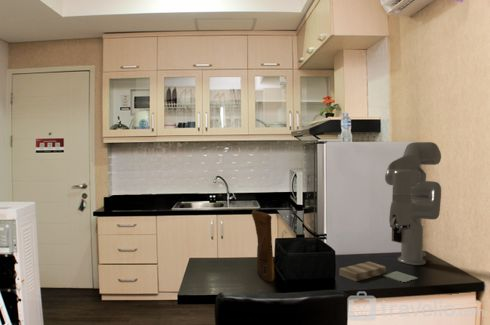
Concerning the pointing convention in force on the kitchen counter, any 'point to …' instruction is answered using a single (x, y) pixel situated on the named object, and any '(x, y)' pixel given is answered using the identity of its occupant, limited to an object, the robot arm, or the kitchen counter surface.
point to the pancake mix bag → (264, 245)
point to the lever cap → (403, 235)
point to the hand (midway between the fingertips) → (400, 240)
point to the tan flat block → (362, 271)
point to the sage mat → (400, 276)
